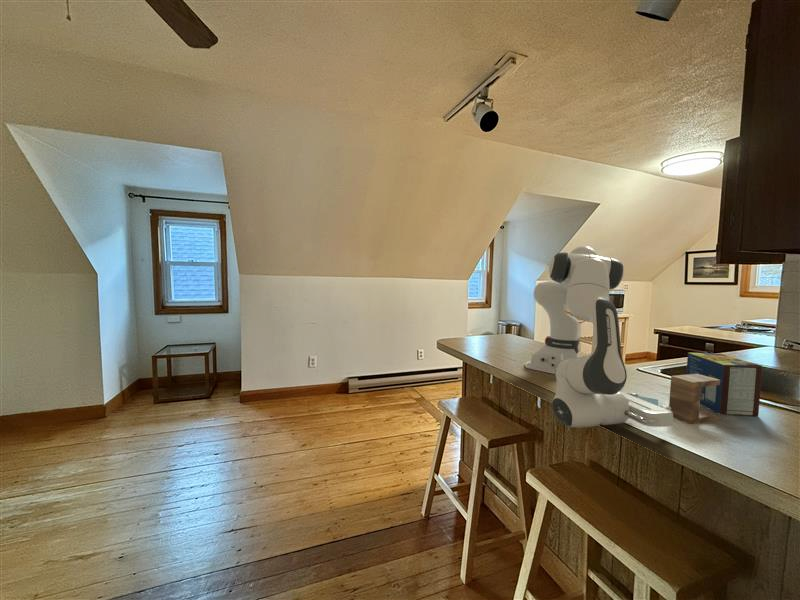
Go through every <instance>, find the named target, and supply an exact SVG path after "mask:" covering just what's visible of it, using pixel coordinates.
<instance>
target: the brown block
mask: <svg viewBox="0 0 800 600" xmlns="http://www.w3.org/2000/svg"><path fill="white" fill-rule="evenodd" d="M715 385H720V380H719V379H715V378H711V377H708V376H704V375H700V374H688V375H686V374H679V375H676V374H675V375H671V376H670V388H669V402H668V406H669V407H671V411H672V413H673V419H674V418H675V419H677V420H679V421H682V422H684V423H687V424H689V425H693V424H701V423H709V422H716V421H718V415H716V414H714V413H711V412H709V411H705V410H703V409H700V406H701V404H700V396H701V387H705V386H715Z"/></svg>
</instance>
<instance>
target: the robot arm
mask: <svg viewBox="0 0 800 600" xmlns="http://www.w3.org/2000/svg"><path fill="white" fill-rule="evenodd" d="M596 251H597V250H596ZM596 251H595V250H594V248H592V247H590V246H584V245H583V246H578V247H576V248H574V249H572V250H571V252H566V251H565V252H558V253H556V254H555V255H553V258H552V259H551V260H550V263H549V264H548V265H549V266H548V274H549V277H550V279H551V280H548V281H547V280H546V281H542V282H541V281H540V282H538V283H537V284H536V286H535V287H534V290H533V299H534V300H535V302H536V303H537V304H538V305H539V306H541V307H542V308H543V309H544V310H545V312H546V313H547V316H548V318H549V335H547V336H546V337H545V339H544V345H542V346H540V347H539V348H537V349H536V350H535V351H533V352H532V353H531V356H530V360H528V361H526V362H524V367H525V368H526V369H529V370H535V371H538V372H544V373H548V374H552V375H554V378H555V381H556V389H555V390H556V391H555V395H554V397H553V399H552V402H551V406H552V407H551V409H552V413H553V414H554V416H555V418H556V419H557V420H558V421H559V422H560V423H561V424H563V425H564V426H566V427H569V428H570V427H571V428H593V427H596V426H598V425H602V426H608V425H618V424H624V423H626V422H628V420H629V419H630V420H633V421H635V422H636V423H639V424H641V425H643V426H647V427H650V428H651V427H655V428H657V427H659V428H661V427H662V428H663V427H671V426H672V425H673V422H674V417H673V413H672V411H671V407H669V405H666V404H661V405H659V406H657V405H655V404H652V403H649V402H647V401H644V400H642V399H639V398H638V396H639V394H637V393H635V392H626V391H622V389H623V388H624V386H625V385H626V382H627V377H628V375H627V370H626V369H627V368H626V366H625V362H624V360H623V353H622V343H621V332H620V324H619V323H620V321H619V314H618V311H617V308H616V305H615V304H614V303H613V302H612V301H610V290H614V289H616V288H617V287H618V286H619V285H620V283H621V282H622V280H623V278H624V274H625V273H624V272H625V270H624V265H623V263H622V262H621V261H620V260H618V259H616V258H613V257H604V256H599V255H598V253H597V252H596ZM565 307H566V308H567V310H568V311H569V313H570V314H569V313H568V312H566V311H565ZM578 319H579V320H582V321H586V322H590V323H592V329H593V330H592V333H593V349H592V351H591V352H590V353H589V354H588V355H584V356H580V357H579V352H580V344H581V343H580V339H579V334H580V333H579V332H580V322H579V320H578Z"/></svg>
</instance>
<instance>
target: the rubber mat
mask: <svg viewBox="0 0 800 600" xmlns="http://www.w3.org/2000/svg"><path fill="white" fill-rule="evenodd" d="M638 398H639V399H642V400H644V401H647V402H649V403H652V404H655V405H657V406H660V405H659V399H657V398H653V397H647V396H640V395H638Z"/></svg>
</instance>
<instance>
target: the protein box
mask: <svg viewBox="0 0 800 600" xmlns="http://www.w3.org/2000/svg"><path fill="white" fill-rule="evenodd" d="M686 361H687V362H686V374H685V375H688V374H700V375H704V376H708V377H711V378H715V379H719V380H720V385H715V386H705V387H701V396H700V406H701V405H702V406H703V407H705V408H707V409H708V408H709V410H710V409H711V411H712V410H713V411H712V412H714V413H717V414H718V413H719V415H726V414H733V415H732V416H743V415H745V416H744V417H746V416H747V417H759V413H760V398H761V390H762V389H761V388H762V375H763V365H761V364H758V363H755V362H751V361H747V360H744V359H740V358H737V357H733V356H730V355H727V354H724V353H712V352H710V353H708V352H707V353H706V352H705V353H704V352H687V360H686Z"/></svg>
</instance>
